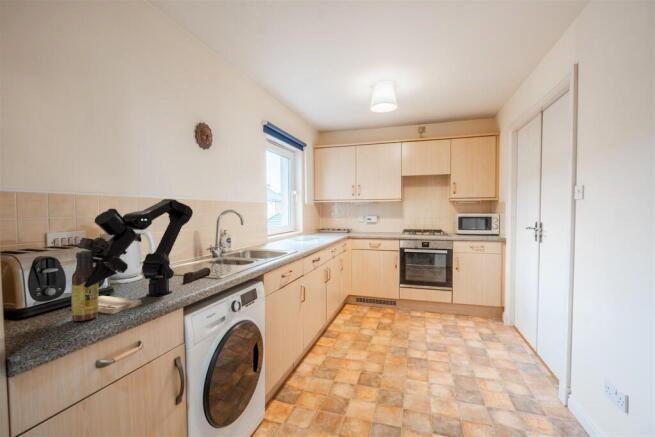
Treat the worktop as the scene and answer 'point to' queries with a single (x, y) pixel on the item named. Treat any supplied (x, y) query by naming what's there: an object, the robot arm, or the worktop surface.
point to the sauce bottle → (84, 289)
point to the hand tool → (195, 275)
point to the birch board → (116, 304)
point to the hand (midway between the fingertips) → (79, 285)
